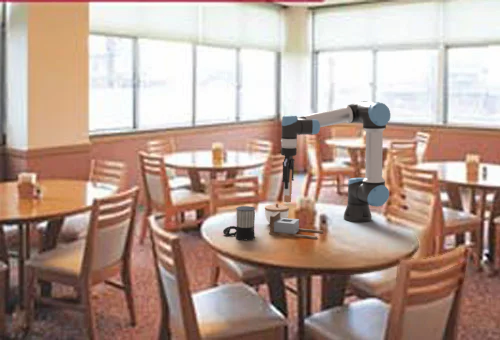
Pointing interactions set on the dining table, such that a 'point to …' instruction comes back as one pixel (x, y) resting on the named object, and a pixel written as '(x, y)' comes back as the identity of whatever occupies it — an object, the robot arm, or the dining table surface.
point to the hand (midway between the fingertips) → (287, 194)
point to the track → (277, 216)
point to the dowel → (288, 198)
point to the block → (286, 225)
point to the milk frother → (243, 224)
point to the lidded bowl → (276, 208)
